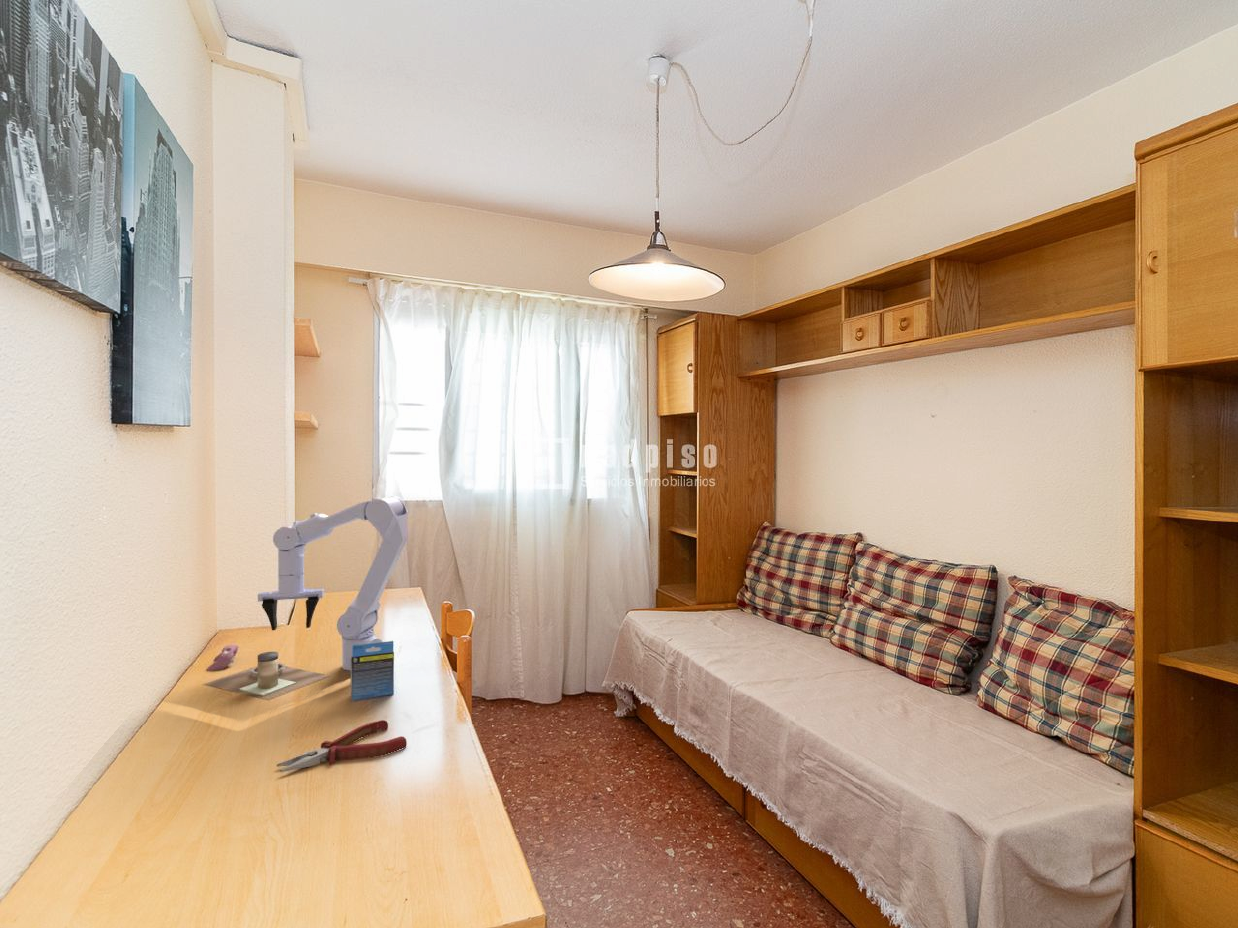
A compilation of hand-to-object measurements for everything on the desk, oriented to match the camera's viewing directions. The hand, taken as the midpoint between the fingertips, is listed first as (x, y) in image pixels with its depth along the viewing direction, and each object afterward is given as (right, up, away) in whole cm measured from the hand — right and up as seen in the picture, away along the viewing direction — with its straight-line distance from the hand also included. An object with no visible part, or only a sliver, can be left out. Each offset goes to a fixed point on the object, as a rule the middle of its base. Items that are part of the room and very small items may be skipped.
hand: (291, 627), depth 153 cm
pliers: (+32, -12, -41) cm, 53 cm away
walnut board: (+1, -11, -11) cm, 15 cm away
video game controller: (-17, -11, 0) cm, 20 cm away
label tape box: (+27, -11, -16) cm, 33 cm away
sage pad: (+3, -9, -15) cm, 18 cm away
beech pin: (+3, -9, -15) cm, 18 cm away
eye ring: (-2, -9, -7) cm, 11 cm away
